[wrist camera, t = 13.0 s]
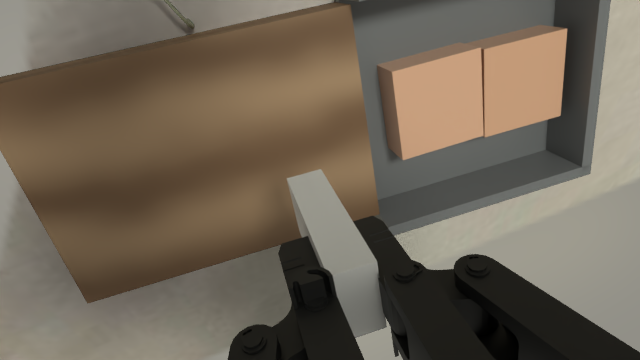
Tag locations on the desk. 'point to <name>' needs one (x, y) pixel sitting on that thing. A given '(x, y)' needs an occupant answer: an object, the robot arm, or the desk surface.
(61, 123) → the wooden plank
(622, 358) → the robot arm
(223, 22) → the desk surface
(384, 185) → the tray
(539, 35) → the tile
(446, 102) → the tile
